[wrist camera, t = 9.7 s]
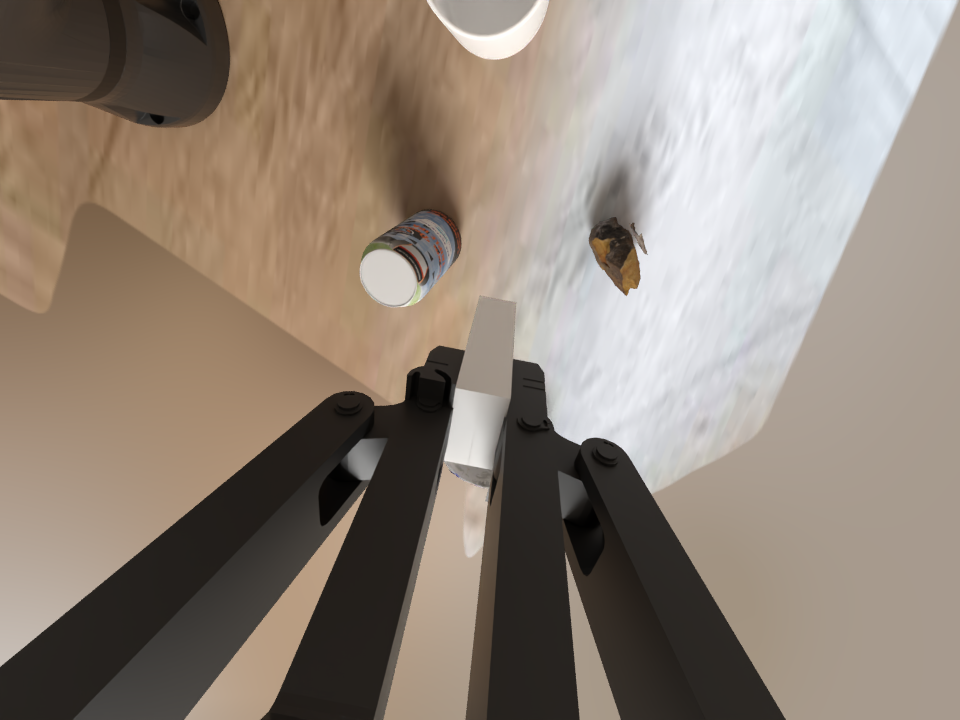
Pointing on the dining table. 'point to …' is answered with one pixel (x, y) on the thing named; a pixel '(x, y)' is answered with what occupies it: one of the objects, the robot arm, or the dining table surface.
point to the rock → (617, 253)
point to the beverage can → (410, 258)
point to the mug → (491, 24)
